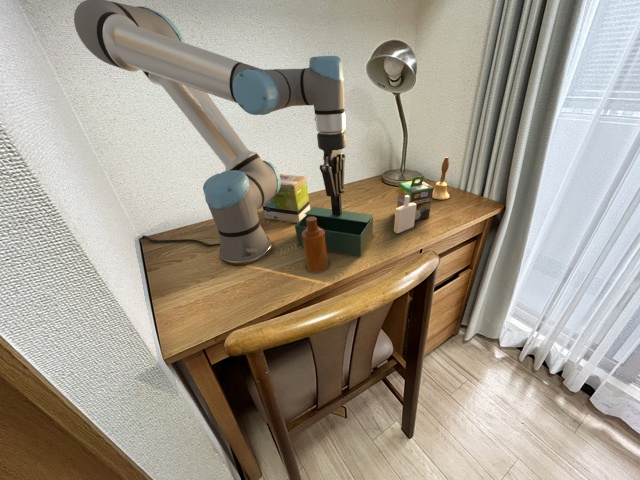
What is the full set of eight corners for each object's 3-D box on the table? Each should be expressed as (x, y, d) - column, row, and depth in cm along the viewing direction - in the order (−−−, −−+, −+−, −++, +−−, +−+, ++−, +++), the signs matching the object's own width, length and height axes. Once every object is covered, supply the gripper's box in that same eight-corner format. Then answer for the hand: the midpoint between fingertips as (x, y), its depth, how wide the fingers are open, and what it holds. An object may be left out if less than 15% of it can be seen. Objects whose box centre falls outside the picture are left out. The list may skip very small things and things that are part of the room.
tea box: (264, 219, 100) (254, 181, 91) (278, 208, 107) (270, 172, 98) (300, 224, 96) (293, 184, 87) (311, 212, 103) (306, 175, 94)
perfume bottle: (410, 224, 92) (414, 192, 85) (414, 226, 91) (418, 194, 84) (393, 231, 89) (395, 198, 82) (397, 234, 88) (400, 200, 80)
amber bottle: (303, 270, 73) (294, 222, 65) (312, 258, 78) (306, 212, 69) (322, 274, 72) (316, 225, 63) (331, 261, 76) (326, 215, 67)
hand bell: (445, 191, 116) (452, 154, 106) (452, 199, 109) (460, 159, 99) (426, 192, 115) (432, 155, 106) (433, 200, 108) (439, 160, 99)
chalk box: (416, 207, 103) (421, 169, 95) (430, 217, 96) (436, 177, 88) (395, 212, 101) (398, 173, 92) (408, 222, 94) (412, 181, 85)
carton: (298, 245, 84) (294, 225, 79) (315, 227, 93) (313, 208, 89) (360, 257, 77) (360, 236, 73) (372, 236, 87) (373, 216, 83)
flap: (304, 214, 84) (304, 213, 83) (313, 207, 88) (313, 206, 88) (367, 223, 77) (367, 222, 77) (372, 215, 82) (372, 214, 82)
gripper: (328, 126, 74) (334, 204, 88) (306, 136, 64) (317, 222, 78) (353, 127, 71) (355, 207, 85) (334, 137, 62) (340, 225, 76)
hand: (337, 214), depth 82 cm, fingers closed
